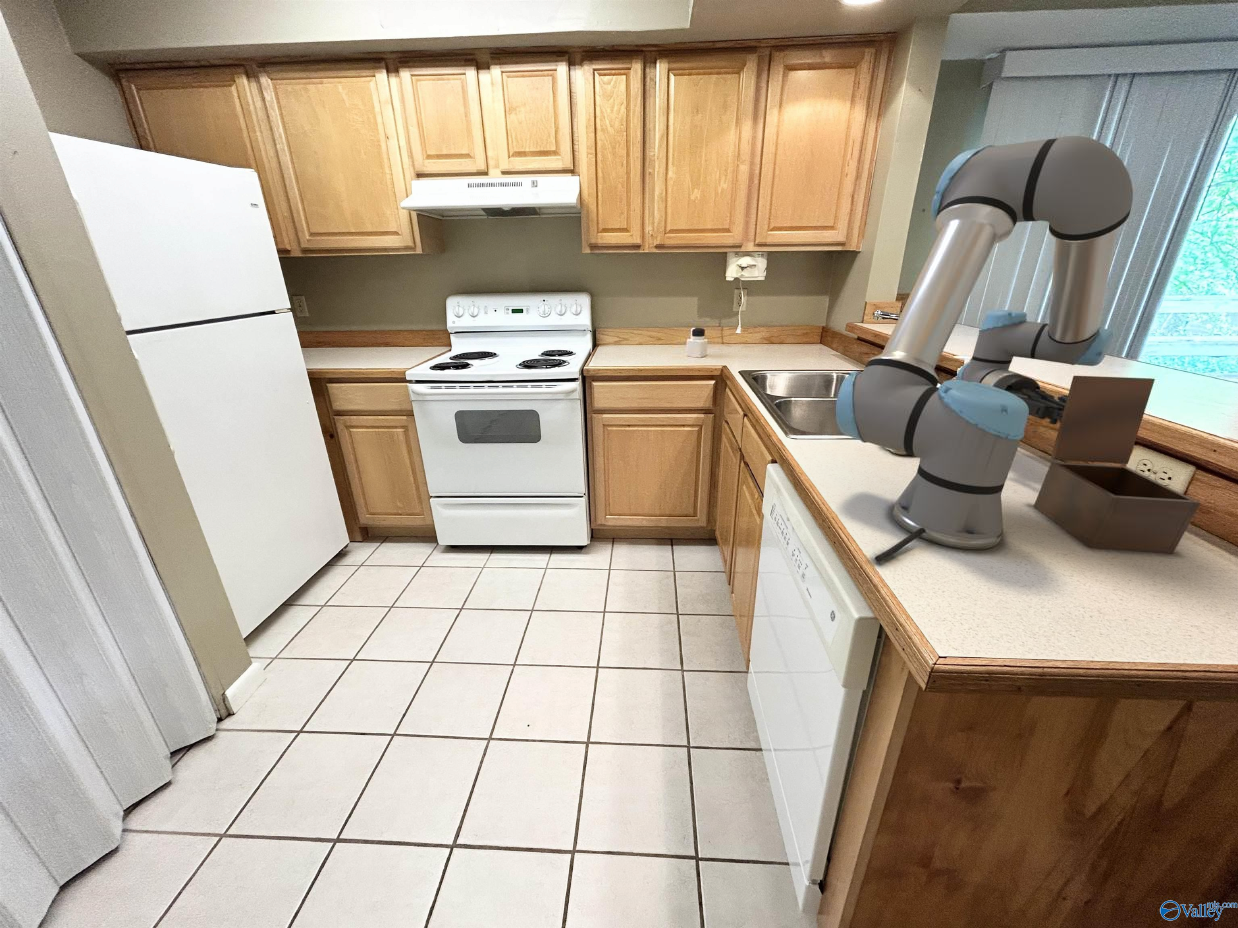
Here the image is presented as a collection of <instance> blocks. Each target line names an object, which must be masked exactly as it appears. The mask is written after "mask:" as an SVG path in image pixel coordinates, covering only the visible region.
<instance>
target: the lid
mask: <svg viewBox="0 0 1238 928" xmlns="http://www.w3.org/2000/svg"><path fill="white" fill-rule="evenodd" d="M1154 384H1155V378H1153V377H1152V378H1151V377H1126V376H1125V377H1122V376H1098V375H1097V376H1096V375H1073V376H1072V379H1071V383H1070V387H1069V390H1068V394H1067V396H1068V397H1067V401H1066V405H1065V408H1064V412H1063V415H1062V419H1061V422H1059V426H1058V430H1057V434H1056V437H1055V441H1054V445H1053V448H1052V451H1051V456H1050V460H1053V461H1067V462H1086V463H1100V464H1101V463H1104V464H1119V465H1121V464H1122V465H1128V464H1129V462H1130V459H1131V456H1132V453H1133V450H1134V446H1135V442H1136V440H1137V437H1138V434H1139V431H1140V427H1141V424H1142V421H1143V417H1144V415H1145V411H1146V409H1147V405H1148V403H1149V399H1150V396H1151V394H1152V390H1153V388H1154V387H1153V386H1154Z"/></svg>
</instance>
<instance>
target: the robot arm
mask: <svg viewBox="0 0 1238 928" xmlns="http://www.w3.org/2000/svg"><path fill="white" fill-rule="evenodd" d="M934 192H935V195H934V197H933V198H932V201H931V202H932V203H931V216H932V219H933V220H934V227H935V230H936V232H937V233H938V235H937V238H936V240H935V241H934V244H933V247H932V248H931V251H930V252H929V255H928V257H927V259H926V260H925V263H924V265H923V267H922V269H921V271H920V274H919V275H918V277H917V280H916V282H915V284H914V285H913V288H912V290H911V292H910V294H909V296H908V298H907V300H906V303H905V305H904V307H903V308H902V311H901V313H900V315H899V317H898V319H897V321H896V323H895V326H894V328H893V330H892V332H891V334H890V336H889V338H888V340H887V342H886V344H885V346H884V349H883V350H882V353H881V354H879V355H876V356H873V357H871V358H869V359H868V361H867V363H866V365H865V367H864V369H863V371H859V370H857V371H853V372H852V371H851V373H849V374H848V375H847V376H846V377H845V378H844V379H843V382H842V383H841V385H840V387H839V390H838V393H837V394H838V395H837V398H836V403H835V419H836V423H837V427H838V429H839V430H840V432H841V433H842V434H844V435H845V436H847V437H849V438H852V439H855V440H858V441H860V442H861V443H866V444H867V443H869V444H871V445H872V444H873V445H875V446H878V447H882V448H884V447H886V448H889V449H893V450H896V451H899V452H902V453H906V454H905V455H909V456H913V457H917V458H919V463H918V466H917V470H916V473H915V475H914V476H913V478H912V479H911V480H910V482H909V483H908V485H907V486H906V487H905V488H904V490H903V491H902V493H901V494H900V495H899V497H898V498H897V499H896V501H895V504H894V507H893V511H892V516H893V518H894V520H895V521H896V522H897V523H898V524H899V525H900V526H901V527H902V528H903V529H905V530H906V531H907V532H909V533H910V534H908V536H905V537H904V538H903V539H902V540H900V541H899V542H897V543H896V544H894V545H893V546H892V547H890V548H888V549H886V550H885V551H883V552H881V553H880V554H878V555H876V556H874V561H875V562H877V563H880V562H882V561H884V560H885V559H887V558H889V557H891V556H893V555H894V554H896V553H898V552H899V551H900V550H902V549H903V548H905V547H906V546H907V545H909V544H910V543H912V542H914V541H915V540H916V539H918V538H919V537H920V539H921V538H922V539H924V540H926V541H929V542H932V543H936V544H939V545H942V546H946V547H951V548H956V549H963V550H985V549H990V548H992V547H995V546H997V545H998V544H999V542H1000V540H1001V537H1002V536H1003V533H1004V519H1003V505H1002V494H1003V493H1002V492H1003V489H1004V487H1005V484H1006V481H1007V478H1008V476H1009V473H1010V471H1011V468H1012V465H1013V463H1014V459H1015V457H1016V455H1017V451H1018V448H1019V446H1020V443H1021V441H1022V439H1023V438H1024V437H1025V433H1026V432H1025V429H1026V426H1027V422H1028V418H1029V416H1031V417H1035V418H1037V419H1039V420H1045V419H1049V422H1048V424H1049V425H1057V424H1058V422H1059V423H1061V419H1062V415H1063V412H1064V408H1065V405H1066V401H1067V397H1068V394H1067V395H1066V394H1062V395H1058V396H1057V397H1055V396H1054V395H1053V394H1050V393H1048V392H1047V391H1045V390H1044V389H1041V386H1040V384H1039V383H1038V382H1037V380H1035V379H1034V378H1031V377H1028V376H1026V375H1023V374H1020V373H1018V372H1015V371H1012V370H1010V367H1011V364H1012V362H1013V359H1014V358H1024V359H1031V360H1038V361H1045V362H1050V363H1051V362H1053V363H1057V364H1066V365H1071V366H1075V365H1076V366H1087V367H1095V366H1098V365H1100V364H1101V363H1102V362H1103V361H1104V359H1105V357H1106V355H1107V353H1108V351H1109V349H1110V347H1111V344H1112V342H1113V338H1114V332H1113V330H1112V329H1110V328H1104V327H1102V326H1100V323H1101V318H1102V313H1103V308H1104V303H1105V298H1106V294H1107V293H1106V292H1107V288H1108V282H1109V277H1110V273H1111V267H1112V262H1113V257H1114V252H1115V246H1116V241H1117V237H1118V233H1119V232H1118V231H1119V229H1120V228H1121V227H1122V226H1124V225H1125V223H1126V222H1127V221H1128V219H1129V218H1130V215H1131V210H1132V207H1133V199H1134V190H1133V182H1132V179H1131V175H1130V173H1129V171H1128V169H1127V167H1126V166H1125V163H1124V162H1123V160H1122V159H1121V157H1120V156H1118V154H1117V153H1116V152H1115V151H1114V150H1113V149H1111V148H1110V147H1109V146H1108V145H1106V144H1105V143H1103V142H1101V141H1099V140H1097V139H1094V138H1091V137H1089V136H1083V135H1066V136H1060V137H1057V138H1046V139H1038V140H1031V141H1024V142H1015V143H1009V144H1001V145H992V144H991V145H990V144H989V145H985V146H983V147H979V148H975V149H974V148H973V149H969V150H966V151H964V152H961V153H960V154H958V155H957V156H956V157H955V158H953V160H951V161H950V162H949V163H948V165H947V166H946V167H945V169H944V171H943V173H942V174H941V176H940V178H939V179H938V183H937V184H936V187H935V190H934ZM1039 221H1040V222H1047V223H1048V233H1049V234H1050V236H1052V237H1053V239H1055V243H1054V252H1053V253H1054V254H1053V266H1052V281H1051V290H1050V301H1049V313H1048V314H1049V315H1048V323H1046V322H1037V321H1031V320H1027V317H1028V314H1027V312H1025V311H1021V310H1011V309H992V310H989V311H987V313H986V314H985V315H984V318H983V321H982V324H981V327H980V329H979V330H978V335H977V339H976V342H975V346H974V350H973V353H972V357H971V358H970V361H968V362H966V363H965V364H963V365H962V367H960V369H959V370H958V372H957V374H956V379H949V380H945V381H943V382H942V383H941V385H939V382H940V378H939V376H938V375H937V372H936V371H935V368H936V367H937V364H938V362H939V360H940V358H941V356H942V355H943V352H944V350H945V348H946V345H947V343H948V342H949V339H950V338H951V335H952V333H953V331H954V329H955V328H956V325H957V323H958V321H959V319H960V317H961V315H962V313H963V311H964V308H965V307H966V305H967V303H968V300H969V298H970V296H971V294H972V292H973V291H974V288H975V286H976V284H977V282H978V280H979V278H980V275H981V274H982V272H983V269H984V267H985V266H986V263H987V261H988V259H989V257H990V255H991V253H992V251H993V249H994V247H995V245H997V244H999V243H1001V242H1003V241H1005V240H1006V239H1008V238H1009V237H1010V236H1011V235H1012V233H1013V231H1014V229H1015V227H1016V225H1017V224H1018V223H1028V222H1029V223H1030V222H1039ZM938 385H939V386H938Z"/></svg>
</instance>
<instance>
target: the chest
mask: <svg viewBox="0 0 1238 928" xmlns="http://www.w3.org/2000/svg"><path fill="white" fill-rule="evenodd" d="M1201 504H1202V503H1201V502H1200V501H1198V500H1196V499H1194V498H1191V497H1190V496H1187V495H1185V494H1184V493H1182V492H1179V491H1177V490H1175V489H1173V488H1171V487H1169V486H1167V485H1165V484H1163V483H1160V482H1158V481H1156V480H1154V479H1153V478H1150V477H1148V476H1146V475H1144V474H1142V473H1140V472H1138V471H1135V469H1132V468H1129V467H1128V466H1126V465H1115V464H1114V465H1112V464H1111V465H1109V464H1094V463H1093V464H1092V463H1077V462H1076V463H1074V462H1056V461H1051V462H1050V464H1049V467H1048V469H1047V471H1046V474H1045V476H1044V479H1043V481H1042V484H1041V486H1040V489H1039V491H1038V494H1037V497H1036V499H1035V501H1034V504H1033V508H1035V509H1037V510H1038V511H1039V512H1040V513H1041V514H1043V515H1044V516H1046V517H1047V518H1049V519H1050V520H1051V521H1053V522H1054V523H1055V524H1057V526H1060V527H1061V528H1062V529H1064V530H1065V531H1067V532H1068V533H1069V534H1070V535H1072V536H1073V537H1075V538H1077V539H1078V540H1079V541H1080V542H1082V543H1083V544H1085V545H1086V546H1088V547H1089V548H1092V549H1106V550H1120V551H1134V552H1147V553H1148V552H1149V553H1162V554H1174V553H1175V551H1176V549H1177V548H1178V545H1179V544H1180V542H1181V540H1182V538H1183V537H1184V534H1185V533H1186V531H1187V529H1188V527H1189V526H1190V525H1191V524H1190V523H1191V522H1192V520H1193V519H1194V516H1195V514H1196V513H1197V511H1198V509H1199V507H1200V506H1201Z"/></svg>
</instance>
